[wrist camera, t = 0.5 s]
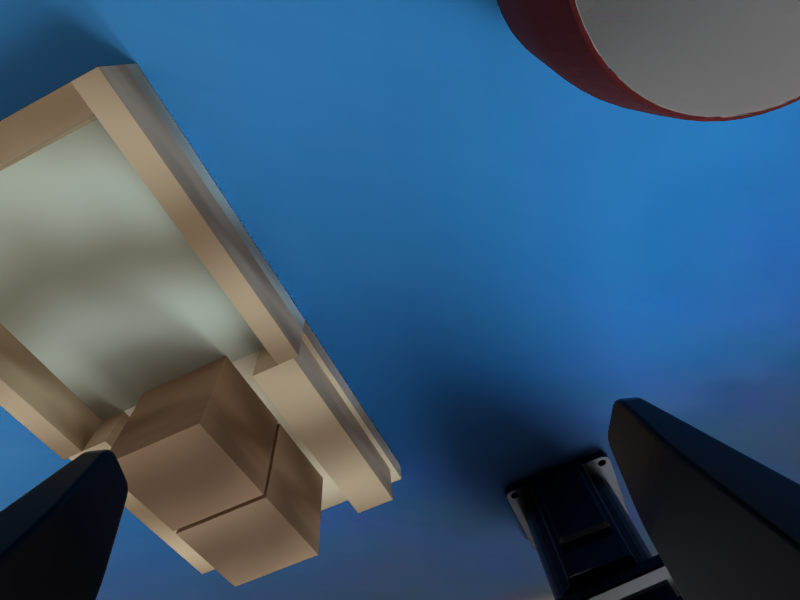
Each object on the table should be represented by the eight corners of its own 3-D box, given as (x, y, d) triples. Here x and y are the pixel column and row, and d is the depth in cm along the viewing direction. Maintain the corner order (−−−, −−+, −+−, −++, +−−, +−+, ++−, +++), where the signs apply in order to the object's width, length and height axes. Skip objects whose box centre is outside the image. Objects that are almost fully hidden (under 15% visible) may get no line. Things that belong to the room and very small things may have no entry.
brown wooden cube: (277, 420, 24) (263, 494, 20) (201, 453, 25) (172, 531, 21) (226, 355, 22) (198, 423, 18) (143, 392, 23) (100, 466, 19)
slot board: (400, 465, 28) (405, 509, 25) (221, 536, 29) (209, 584, 27) (136, 63, 17) (97, 66, 15) (-123, 206, 19) (-201, 232, 16)
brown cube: (323, 478, 26) (318, 554, 22) (251, 506, 27) (234, 586, 23) (279, 423, 24) (266, 497, 20) (203, 455, 25) (176, 533, 21)
